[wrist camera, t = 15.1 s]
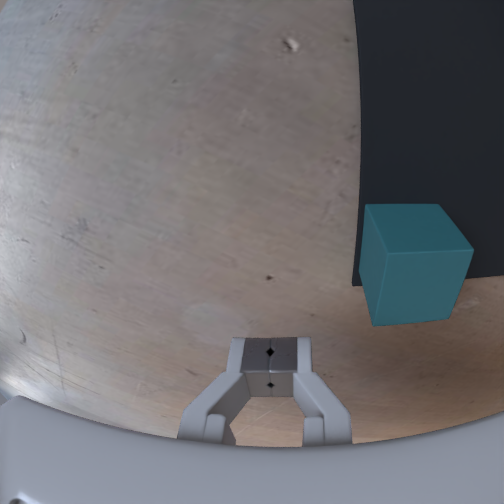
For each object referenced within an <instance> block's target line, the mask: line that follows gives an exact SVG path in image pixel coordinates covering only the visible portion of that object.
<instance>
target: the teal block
mask: <svg viewBox="0 0 504 504" xmlns="http://www.w3.org/2000/svg"><path fill="white" fill-rule="evenodd" d="M473 253H474V249H473V247H472V246H471V245H470V243H469V242H468V241H467V239H466V238H465V237H464V235H463V234H462V233H461V231H460V230H459V229H458V227H457V226H456V225H455V224H454V222H453V221H452V220H451V219H450V217H449V216H448V215H447V214H446V212H445V211H444V210H443V209H442V208H441V206H440V205H439V204H366V205H365V213H364V226H363V236H362V246H361V256H360V264H359V274H360V277H361V281H362V285H363V289H364V293H365V297H366V301H367V305H368V309H369V313H370V317H371V321H372V325H373V326H386V325H398V324H408V323H418V322H427V321H436V320H444V319H449V317H450V314H451V312H452V310H453V307H454V305H455V303H456V300H457V298H458V295H459V292H460V290H461V287H462V285H463V282H464V279H465V276H466V274H467V271H468V268H469V265H470V262H471V259H472V256H473Z"/></svg>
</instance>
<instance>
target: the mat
mask: <svg viewBox="0 0 504 504" xmlns="http://www.w3.org/2000/svg"><path fill="white" fill-rule="evenodd" d="M353 5H354V13H355V23H356V33H357V44H358V58H359V75H360V100H361V164H360V190H359V208H358V223H357V236H356V247H355V257H354V267H353V276H352V286H363V285H362V281H361V277H360V274H359V264H360V256H361V246H362V236H363V226H364V213H365V205H366V204H439V205H440V206H441V208H442V209H443V210H444V211H445V212H446V214H447V215H448V216H449V217H450V219H451V220H452V221H453V222H454V224H455V225H456V226H457V227H458V229H459V230H460V231H461V233H462V234H463V235H464V237H465V238H466V239H467V241H468V242H469V243H470V245H471V246H472V247H473V249H474V253H473V256H472V259H471V262H470V265H469V268H468V271H467V274H466V276H465V279H468V278H479V277H490V276H500V275H504V0H353Z"/></svg>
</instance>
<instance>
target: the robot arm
mask: <svg viewBox="0 0 504 504" xmlns="http://www.w3.org/2000/svg"><path fill="white" fill-rule="evenodd" d="M250 397H293V398H294V400H295V401H296V403H297V404H298V406H299V407H300V409H301V410H302V412H303V414H304V415H305V417H306V418H305V419H304V429H303V440H302V447H257V446H238V445H236V439H235V437H234V435H233V433H232V430H231V428H230V426H229V425H230V423H231V422H232V421H233V420H234V418H235V417H236V416H237V415H238V413H239V412H240V411H241V410H242V408H243V407H244V406H245V404H246V403H247V402H248V401H249V399H250ZM0 504H504V411H502V412H499V413H496V414H493V415H490V416H487V417H484V418H481V419H477V420H474V421H471V422H467V423H464V424H460V425H456V426H453V427H449V428H445V429H440V430H436V431H432V432H427V433H422V434H417V435H412V436H407V437H401V438H395V439H389V440H382V441H374V442H366V443H357V444H352V431H351V418H350V412H349V411H348V410H347V409H346V408H345V406H344V405H343V404H342V403H341V401H340V400H339V399H338V398H337V397H336V395H335V394H334V393H333V392H332V391H331V389H330V388H329V387H328V386H327V385H326V383H325V382H324V381H323V380H322V378H321V377H320V376H319V375H318V374H317V372H313V371H312V346H311V337H281V338H235V337H233V339H232V341H231V346H230V352H229V357H228V363H227V369H226V372H222V373H221V374H220V375H219V376H218V377H217V378H216V379H215V380H214V381H213V382H212V383H211V384H210V385H209V386H208V387H207V388H206V389H205V390H204V391H203V392H202V393H201V394H200V395H199V396H198V397H196V398H195V399H194V400H193V401H192V402H191V403H190V404H189V405H188V406H187V407H186V408H185V409H184V411H183V415H182V419H181V423H180V427H179V431H178V435H177V439H175V438H169V437H163V436H157V435H152V434H147V433H142V432H137V431H133V430H128V429H124V428H120V427H115V426H111V425H108V424H104V423H100V422H96V421H93V420H89V419H86V418H83V417H79V416H76V415H73V414H70V413H67V412H64V411H61V410H58V409H55V408H52V407H50V406H47V405H44V404H41V403H39V402H36V401H34V400H31V399H29V398H27V397H24V396H20V395H18V396H15V397H13V398H11V399H10V400H8V401H7V402H5V403H4V404H3V405H1V406H0Z"/></svg>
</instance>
